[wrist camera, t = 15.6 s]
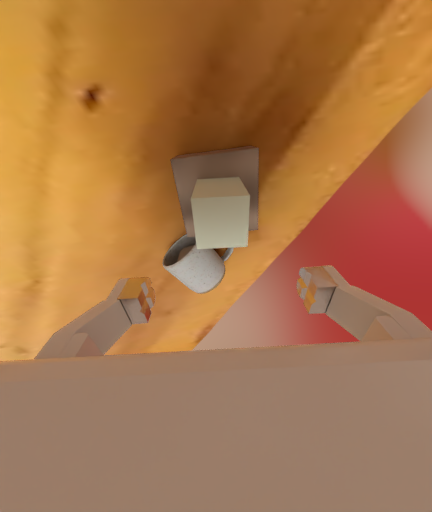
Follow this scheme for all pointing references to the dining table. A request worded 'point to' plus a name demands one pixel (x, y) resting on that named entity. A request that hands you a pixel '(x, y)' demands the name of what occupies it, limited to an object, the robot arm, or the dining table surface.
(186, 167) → the walnut block
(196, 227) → the sage block
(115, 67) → the dining table surface
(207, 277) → the ceramic mug
